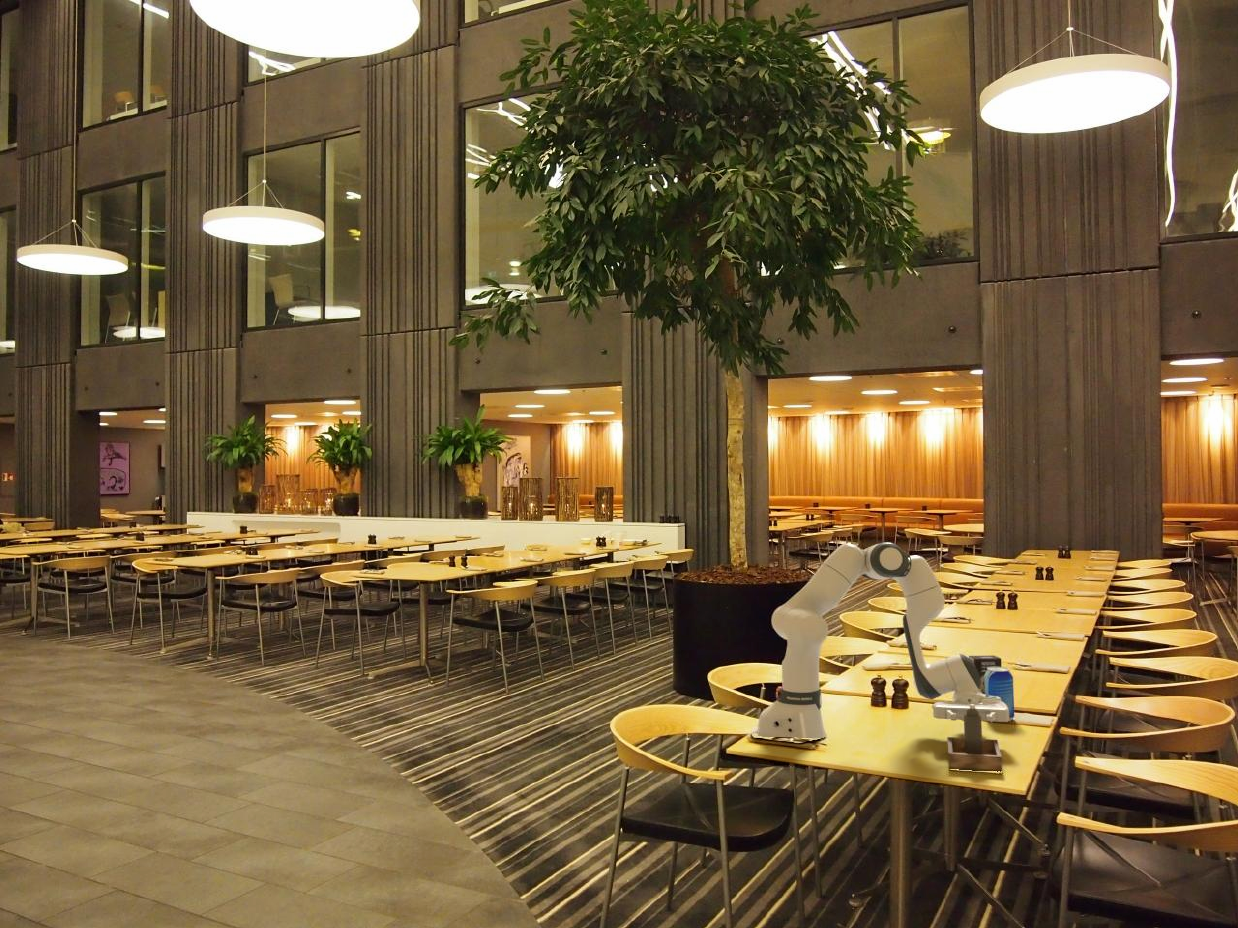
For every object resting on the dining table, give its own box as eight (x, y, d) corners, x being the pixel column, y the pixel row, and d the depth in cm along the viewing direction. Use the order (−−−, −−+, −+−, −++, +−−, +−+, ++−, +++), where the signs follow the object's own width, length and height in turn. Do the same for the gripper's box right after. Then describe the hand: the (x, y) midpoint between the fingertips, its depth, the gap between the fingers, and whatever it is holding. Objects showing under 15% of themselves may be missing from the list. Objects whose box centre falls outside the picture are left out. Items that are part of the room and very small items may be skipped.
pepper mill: (965, 761, 248) (963, 706, 248) (964, 756, 252) (963, 702, 252) (983, 762, 246) (981, 707, 246) (982, 757, 250) (980, 703, 251)
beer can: (1007, 715, 297) (1005, 665, 297) (1019, 722, 288) (1017, 670, 289) (981, 716, 296) (979, 666, 297) (992, 723, 288) (991, 671, 288)
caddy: (949, 770, 244) (948, 753, 244) (947, 753, 259) (947, 736, 259) (1002, 773, 239) (1001, 756, 239) (997, 756, 255) (997, 739, 255)
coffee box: (976, 707, 308) (974, 658, 309) (969, 702, 315) (967, 655, 315) (1003, 706, 308) (1001, 658, 308) (996, 701, 314) (994, 654, 315)
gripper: (931, 694, 273) (931, 705, 260) (1006, 697, 267) (1010, 708, 253) (932, 715, 273) (932, 727, 260) (1007, 719, 266) (1010, 731, 253)
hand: (971, 718), depth 257 cm, fingers open, 8 cm apart
